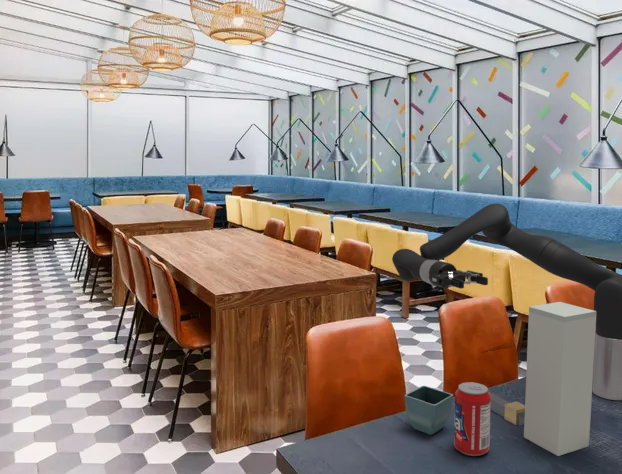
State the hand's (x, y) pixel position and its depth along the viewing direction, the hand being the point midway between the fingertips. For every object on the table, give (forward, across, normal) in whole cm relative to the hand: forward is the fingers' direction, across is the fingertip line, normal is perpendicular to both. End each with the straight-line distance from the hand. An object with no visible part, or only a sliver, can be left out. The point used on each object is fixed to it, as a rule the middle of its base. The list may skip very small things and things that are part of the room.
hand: (475, 283), depth 160 cm
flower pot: (+12, +24, -32) cm, 42 cm away
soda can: (+25, +22, -32) cm, 46 cm away
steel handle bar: (+11, +1, -32) cm, 34 cm away
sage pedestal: (+31, +2, -32) cm, 44 cm away
